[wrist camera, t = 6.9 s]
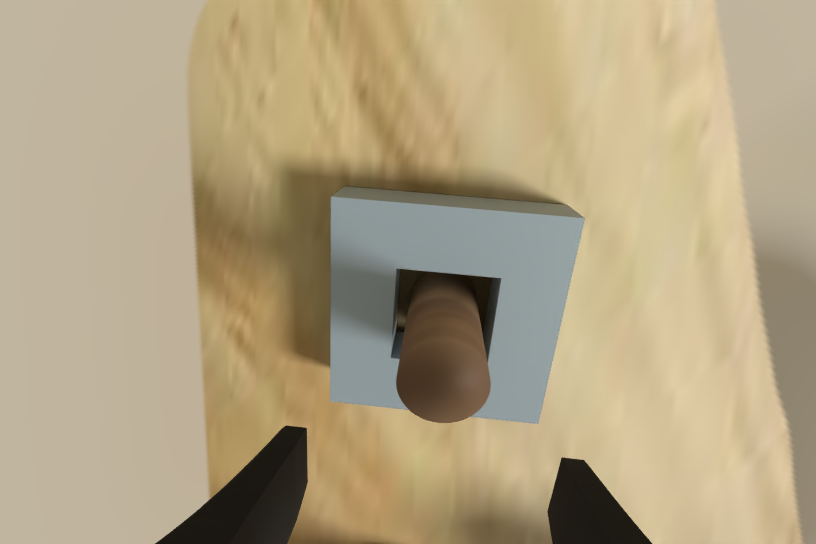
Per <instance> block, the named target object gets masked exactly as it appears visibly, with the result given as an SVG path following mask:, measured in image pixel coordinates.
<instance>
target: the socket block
mask: <svg viewBox="0 0 816 544" xmlns="http://www.w3.org/2000/svg"><path fill="white" fill-rule="evenodd" d="M584 219H585V218H584V217H583V216H581V215H580V214H579V213H577V212H576V211H575V210H573V209H572V208H571V207H569V206H568V205H564V204H552V203H540V202H528V201H516V200H504V199H492V198H480V197H468V196H456V195H444V194H432V193H420V192H408V191H396V190H384V189H372V188H360V187H348V186H344V187H343V188H341V189H340V190H339V191H338V192H336V193H335V194H334V195H332V196H331V326H330V401H331V402H341V403H350V404H359V405H368V406H377V407H386V408H396V409H405V410H409V409H408V408H407V407H406V406H405V405H404V404H403V402H402V401H401V399H400V397H399V395H398V392H397V387H396V377H397V371H398V365H399V360H400V354H401V348H402V342H403V337H404V332H398V331H396V329H397V314H398V299H399V284H400V269H408V270H418V271H429V272H440V273H451V274H462V275H472V276H483V277H492V279H491V286H490V292H489V299H488V306H487V312H486V319H485V325H484V332H483V340H484V345H485V351H486V357H487V363H488V368H489V374H490V380H491V389H490V394H489V396H488V399H487V401H486V402H485V404H484V405H483V407H482V408H481V409H480V410H479V411H478V412H476V413H475V414H474V415H472V416H470V417H478V418H487V419H496V420H506V421H515V422H524V423H533V424H538V423H539V418H540V414H541V409H542V405H543V401H544V396H545V392H546V387H547V383H548V379H549V374H550V370H551V365H552V361H553V356H554V352H555V348H556V343H557V339H558V334H559V330H560V325H561V321H562V317H563V312H564V308H565V303H566V299H567V295H568V290H569V286H570V281H571V277H572V272H573V268H574V264H575V259H576V255H577V250H578V246H579V242H580V237H581V233H582V228H583V224H584Z"/></svg>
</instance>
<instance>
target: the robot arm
mask: <svg viewBox="0 0 816 544" xmlns="http://www.w3.org/2000/svg"><path fill="white" fill-rule="evenodd" d="M307 483H308V477H307V428H302V427H293V426H285V427H283V428H282V429H281V430H280V431H279V432H278V433H277V434H276V435H275V437H274V438H273V439H272V440H271V441H270V442H269V443H268V444H267V445H266V446H265V447H264V448H263V449H262V450H261V451H260V452H259V453H258V454H257V455H256V456H255V457H254V458H253V459H252V460H251V461H250V462H249V463H248V464H247V465H246V466H245V467H244V468H243V469H242V470H241V471H240V472H239V473H238V474H237V475H236V476H235V477H234V478H233V479H232V480H231V481H230V482H229V483H228V484H227V485H226V486H224V487H223V488H222V489H221V490H220V491H219V492H218V493H217V494H216V495H214V496H213V497H212V498H211V499H210V500H209V501H208V502H206V503H205V504H204V505H203V506H202V507H201V508H200V509H199V510H197V511H196V512H195V513H194V514H193V515H191V516H190V517H189V518H188V519H186V520H185V521H184V522H183V523H182V524H180V525H179V526H178V527H176V528H175V529H174V530H173V531H171V532H170V533H169V534H167V535H166V536H165V537H164V538H162V539H161V540H160V541H158V542H157V543H155V544H287V542H288V540H289V537H290V535H291V533H292V530H293V528H294V525H295V523H296V520H297V517H298V514H299V510H300V507H301V504H302V500H303V497H304V493H305V490H306V486H307ZM548 517H549V524H550V530H551V536H552V542H553V544H652V543H651V542H650V541H649V539H648V538H647V537H646V536H645V535H644V534H643V532H642V531H641V530H640V529H639V528H638V526H637V525H636V524H635V523H634V522H633V520H632V519H631V518H630V517H629V516H628V514H627V513H626V512H625V511H624V510H623V508H622V507H621V506H620V505H619V503H618V502H617V501H616V500H615V498H614V497H613V496H612V495H611V493H610V492H609V491H608V490H607V488H606V487H605V486H604V485H603V483H602V482H601V481H600V479H599V478H598V477H597V476H596V474H595V473H594V472H593V471H592V469H591V468H590V467H589V466H588V464H587V463H586V462H585V461H584V460H579V459H570V458H562V459H561V462H560V466H559V470H558V474H557V478H556V481H555V485H554V489H553V493H552V497H551V500H550V504H549V508H548Z"/></svg>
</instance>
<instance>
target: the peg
mask: <svg viewBox="0 0 816 544" xmlns="http://www.w3.org/2000/svg"><path fill="white" fill-rule="evenodd" d="M396 387H397V392H398V395H399V397H400V399H401V401H402V402H403V404H404V405H405V406H406V407H407V408H408V409H409V410H410V411H411V412H412V413H414V414H415V415H417V416H419V417H421V418H423V419H425V420H428V421H432V422H438V423H452V422H457V421H461V420H464V419H466V418H468V417H470V416H472V415H474V414H475V413H476V412H478V411H479V410H480V409H481V408H482V407H483V405H484V404H485V402H486V401H487V399H488V396H489V394H490V389H491V380H490V374H489V368H488V363H487V357H486V351H485V345H484V340H483V334H482V328H481V323H480V317H479V311H478V306H477V300H476V294H475V290H474V287H473V285H472V284H471V282H470V281H469V279H468V278H467V277H466V276H464V275H462V274H451V273H440V272H429V271H428V272H427V273H425V274H423V275H422V276H421V277H420V278H419V279H418V280H417V281H416V282H415V284H414V286H413V288H412V291H411V297H410V302H409V308H408V314H407V319H406V325H405V331H404V337H403V342H402V348H401V354H400V360H399V365H398V371H397V377H396Z"/></svg>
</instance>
